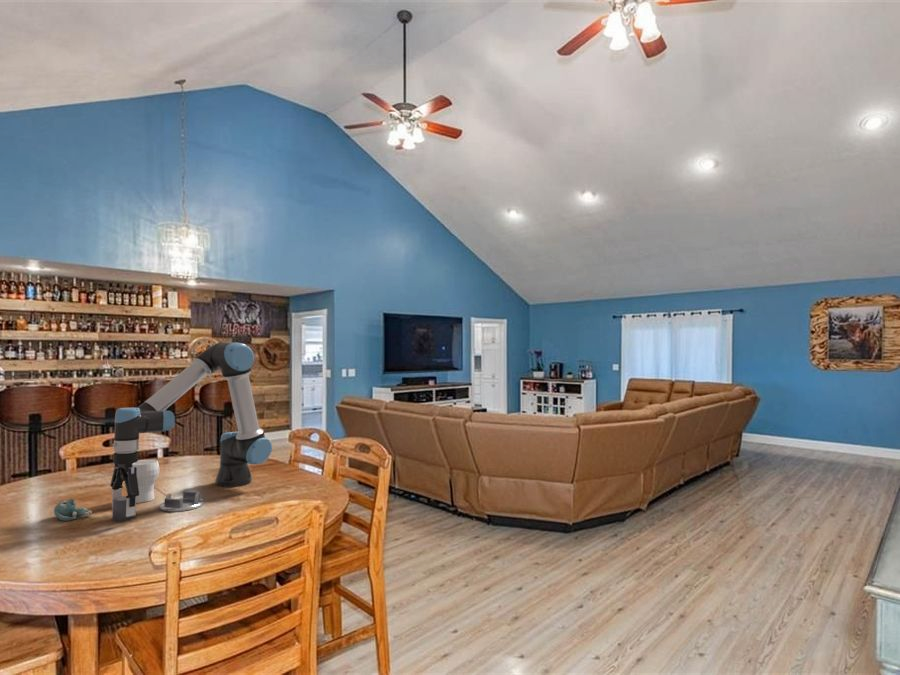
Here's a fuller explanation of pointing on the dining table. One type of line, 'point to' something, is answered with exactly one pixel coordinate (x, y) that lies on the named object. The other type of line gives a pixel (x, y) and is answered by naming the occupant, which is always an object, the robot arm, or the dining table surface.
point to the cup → (146, 479)
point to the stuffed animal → (69, 510)
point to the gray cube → (120, 510)
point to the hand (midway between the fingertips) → (123, 511)
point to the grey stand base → (182, 502)
